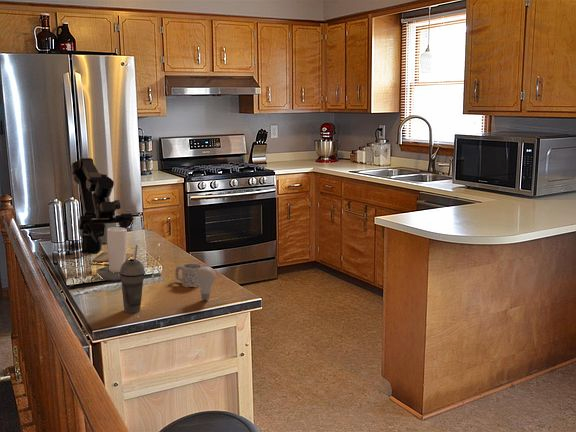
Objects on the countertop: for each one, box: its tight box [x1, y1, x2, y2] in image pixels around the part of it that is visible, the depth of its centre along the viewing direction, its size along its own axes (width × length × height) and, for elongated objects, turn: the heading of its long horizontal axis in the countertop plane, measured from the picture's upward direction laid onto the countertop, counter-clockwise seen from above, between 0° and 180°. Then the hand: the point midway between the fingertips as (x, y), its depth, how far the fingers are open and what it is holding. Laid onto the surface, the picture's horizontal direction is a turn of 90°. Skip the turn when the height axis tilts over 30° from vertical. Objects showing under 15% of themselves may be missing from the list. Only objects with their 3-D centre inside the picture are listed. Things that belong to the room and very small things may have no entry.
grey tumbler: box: [106, 226, 128, 273], centre depth 207 cm, size 7×7×15 cm
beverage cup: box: [120, 244, 146, 314], centre depth 173 cm, size 7×7×20 cm
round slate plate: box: [96, 265, 121, 282], centre depth 208 cm, size 13×13×2 cm
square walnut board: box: [92, 251, 134, 263], centre depth 226 cm, size 12×12×2 cm
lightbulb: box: [196, 266, 217, 301], centre depth 186 cm, size 6×6×11 cm
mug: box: [174, 263, 203, 288], centre depth 202 cm, size 10×7×7 cm, turn 65°
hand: (110, 240), depth 212 cm, fingers open, 9 cm apart
